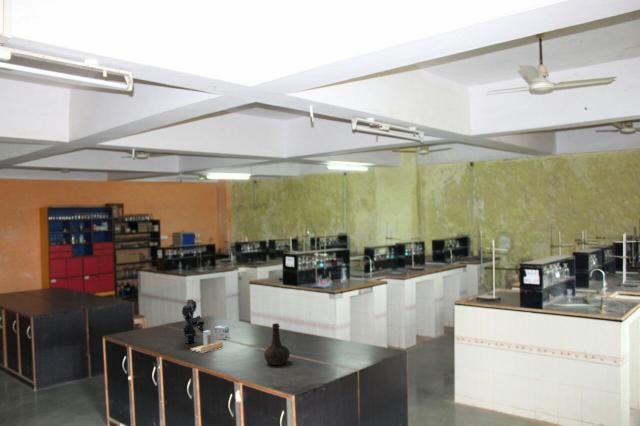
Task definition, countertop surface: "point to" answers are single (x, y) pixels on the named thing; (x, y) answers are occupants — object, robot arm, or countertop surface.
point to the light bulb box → (222, 332)
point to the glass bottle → (276, 349)
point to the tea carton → (207, 337)
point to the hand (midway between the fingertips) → (199, 334)
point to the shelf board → (198, 349)
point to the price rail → (211, 346)
